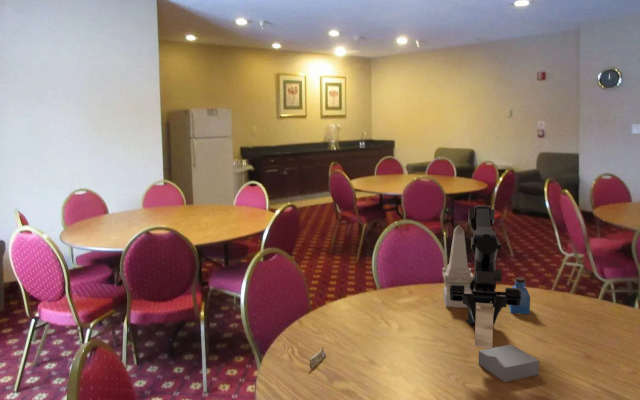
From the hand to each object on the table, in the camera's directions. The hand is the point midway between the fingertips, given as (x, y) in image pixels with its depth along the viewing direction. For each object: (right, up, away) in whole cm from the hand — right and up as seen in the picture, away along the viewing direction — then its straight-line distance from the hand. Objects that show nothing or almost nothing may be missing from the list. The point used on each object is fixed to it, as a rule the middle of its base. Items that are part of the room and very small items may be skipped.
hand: (484, 323), depth 141 cm
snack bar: (-45, -14, +8) cm, 48 cm away
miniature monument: (+7, -5, +55) cm, 55 cm away
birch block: (0, -6, +2) cm, 7 cm away
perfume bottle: (+27, -6, +46) cm, 53 cm away
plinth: (+7, -13, +2) cm, 15 cm away
